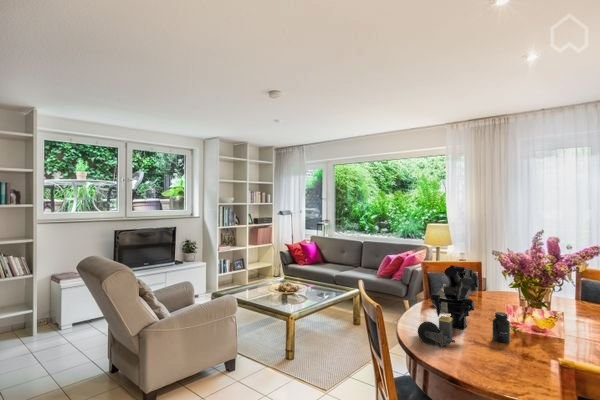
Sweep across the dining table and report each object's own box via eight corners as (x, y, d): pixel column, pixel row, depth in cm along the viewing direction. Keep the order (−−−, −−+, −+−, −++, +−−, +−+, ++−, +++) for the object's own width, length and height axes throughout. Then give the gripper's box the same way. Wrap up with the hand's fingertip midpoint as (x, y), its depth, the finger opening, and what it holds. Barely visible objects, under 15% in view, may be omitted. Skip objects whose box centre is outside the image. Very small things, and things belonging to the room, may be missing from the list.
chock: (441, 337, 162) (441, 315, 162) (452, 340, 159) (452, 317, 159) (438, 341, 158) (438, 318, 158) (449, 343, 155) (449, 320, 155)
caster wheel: (417, 345, 156) (454, 349, 148) (415, 323, 156) (451, 325, 149) (420, 340, 161) (456, 344, 153) (418, 319, 161) (453, 321, 153)
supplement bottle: (503, 344, 153) (503, 317, 153) (489, 339, 159) (488, 312, 159) (513, 341, 156) (513, 314, 156) (498, 336, 162) (498, 310, 162)
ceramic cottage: (441, 301, 218) (440, 277, 217) (465, 309, 204) (465, 283, 203) (424, 307, 210) (424, 282, 209) (449, 316, 196) (448, 289, 195)
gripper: (430, 276, 171) (423, 305, 163) (472, 281, 160) (467, 312, 151) (436, 289, 178) (429, 317, 169) (476, 295, 166) (471, 325, 158)
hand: (448, 318), depth 162 cm, fingers open, 9 cm apart
